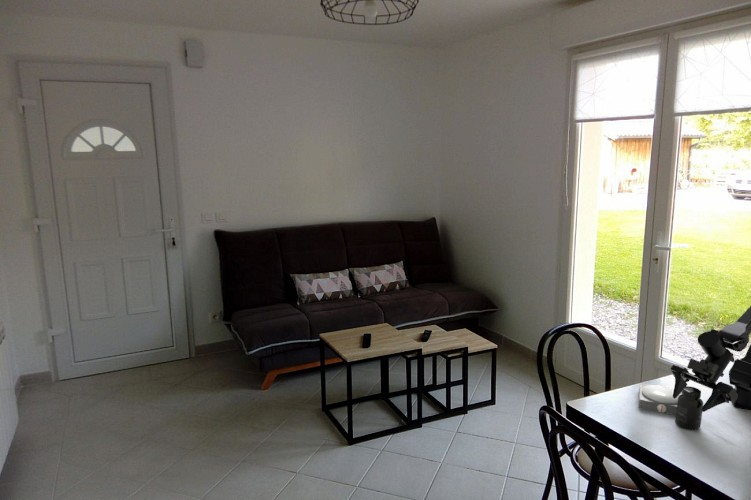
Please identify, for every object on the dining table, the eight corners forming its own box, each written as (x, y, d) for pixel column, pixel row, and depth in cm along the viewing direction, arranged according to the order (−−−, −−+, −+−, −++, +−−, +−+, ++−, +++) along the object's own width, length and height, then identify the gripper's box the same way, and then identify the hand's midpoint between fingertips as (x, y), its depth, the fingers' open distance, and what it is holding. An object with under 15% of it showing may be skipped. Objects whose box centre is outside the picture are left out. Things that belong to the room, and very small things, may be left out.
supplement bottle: (704, 432, 158) (708, 395, 155) (679, 430, 159) (683, 393, 156) (695, 420, 164) (699, 385, 162) (671, 418, 165) (675, 383, 163)
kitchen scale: (681, 399, 178) (682, 389, 177) (684, 417, 166) (685, 406, 165) (639, 391, 184) (640, 381, 183) (639, 408, 172) (640, 398, 171)
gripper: (676, 339, 167) (649, 378, 164) (737, 361, 150) (708, 404, 148) (689, 358, 172) (663, 396, 169) (749, 381, 155) (722, 423, 153)
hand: (687, 404), depth 160 cm, fingers open, 9 cm apart
